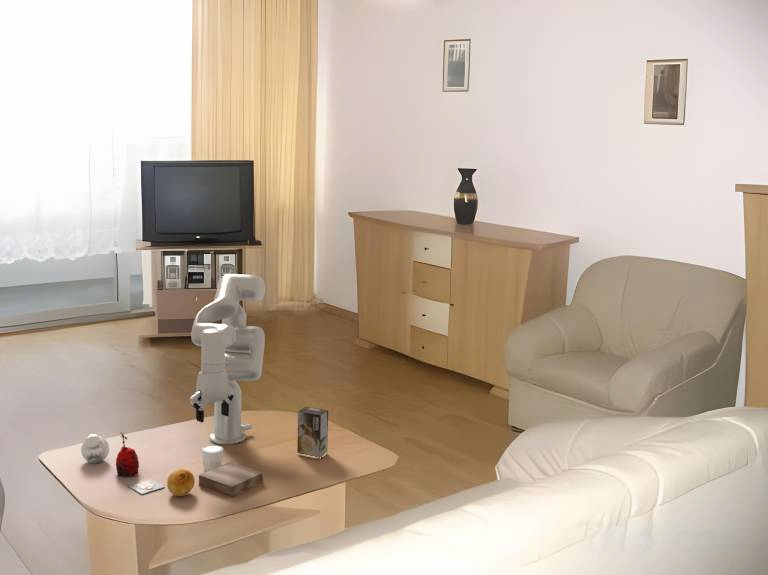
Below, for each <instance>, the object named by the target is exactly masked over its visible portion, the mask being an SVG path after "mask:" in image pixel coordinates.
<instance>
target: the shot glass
mask: <svg viewBox="0 0 768 575" xmlns="http://www.w3.org/2000/svg"><path fill="white" fill-rule="evenodd" d="M201 450H202V451H201V452H202V454H201V455H202V460H203V461H202V464H203V470H204V472H207V471H210V470H212V469H214V468H217V467H219V466H221V465H223V455H224V447H223V446H220V445H216V444H211V445H209V444H208V445H206V446H203V447H202V449H201Z"/></svg>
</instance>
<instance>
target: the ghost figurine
mask: <svg viewBox="0 0 768 575" xmlns="http://www.w3.org/2000/svg"><path fill="white" fill-rule="evenodd" d="M80 451H81V455H82V458H83V459H84V460H85V461H86V462H88V463H91V464H98V463H101V462H103V461H104V460H105V459H106V458H107V457H108V455H109V453H110V444H109V442H108V441H107V439H105V438H104V437H102V436H100V435H98V434H96V433H92V434H91V433H90V434H88V435H87V436H86V437H85V438H84V442H83V443H82V445H81V448H80Z"/></svg>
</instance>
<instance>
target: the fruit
mask: <svg viewBox="0 0 768 575" xmlns="http://www.w3.org/2000/svg"><path fill="white" fill-rule="evenodd" d="M195 482H196V481H195V476H194V474H193V473H192V471H190V470H189V469H188V470H187V469H184V468H178V469H175V470H173V472H171V473H170V474H169V475H168V478H167V479H166V486H167V489H168V492H170V493H171V494H172V495H173V496H175V497H184V496H186V495H188V494H189V493H190V492H191V491H192V490H193V488H194V486H195Z"/></svg>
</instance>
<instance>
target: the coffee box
mask: <svg viewBox="0 0 768 575" xmlns="http://www.w3.org/2000/svg"><path fill="white" fill-rule="evenodd" d="M328 430H329V410H327V409H323V408H317V407H311V406H304V407H302V408H301V409H300V410H298V411H297V450H296V451H297V453H299V454H305V455H310V456H315V457H319V458H320V457H322V456H323V455H324V454H325V453H326V452H327V453H328V443H329V442H328V435H329V431H328ZM297 453H296V454H297Z"/></svg>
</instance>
